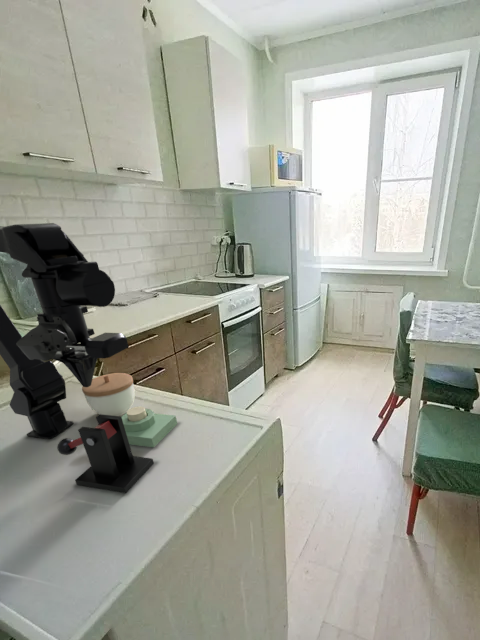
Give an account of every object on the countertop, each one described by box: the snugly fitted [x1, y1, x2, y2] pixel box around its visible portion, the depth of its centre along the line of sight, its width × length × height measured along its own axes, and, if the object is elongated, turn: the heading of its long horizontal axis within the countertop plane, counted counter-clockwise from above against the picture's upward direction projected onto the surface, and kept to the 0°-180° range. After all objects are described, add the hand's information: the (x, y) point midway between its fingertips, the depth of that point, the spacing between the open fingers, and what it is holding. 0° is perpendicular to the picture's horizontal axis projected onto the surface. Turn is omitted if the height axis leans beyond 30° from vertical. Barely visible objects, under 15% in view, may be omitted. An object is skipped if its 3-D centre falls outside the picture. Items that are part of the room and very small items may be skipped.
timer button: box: [127, 405, 147, 422], centre depth 74 cm, size 4×4×2 cm
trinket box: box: [81, 372, 136, 416], centre depth 82 cm, size 11×11×9 cm
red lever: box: [56, 421, 117, 456], centre depth 61 cm, size 13×3×3 cm, turn 75°
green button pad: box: [121, 408, 178, 448], centre depth 75 cm, size 12×9×4 cm
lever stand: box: [74, 414, 155, 494], centre depth 61 cm, size 10×8×11 cm
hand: (87, 386), depth 67 cm, fingers closed
